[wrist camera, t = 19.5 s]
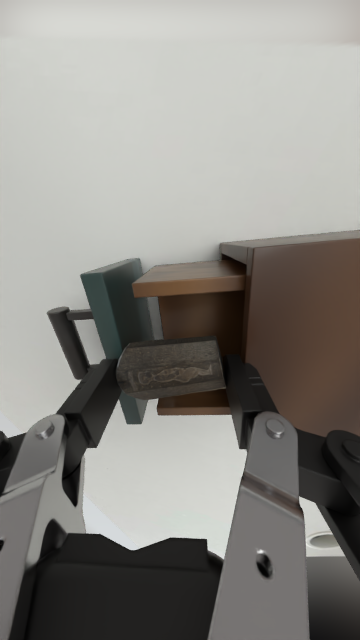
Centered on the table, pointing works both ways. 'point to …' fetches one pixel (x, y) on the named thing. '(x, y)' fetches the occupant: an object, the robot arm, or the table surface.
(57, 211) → the table surface
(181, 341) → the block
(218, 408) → the drawer
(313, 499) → the robot arm
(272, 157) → the table surface
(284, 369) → the cabinet
